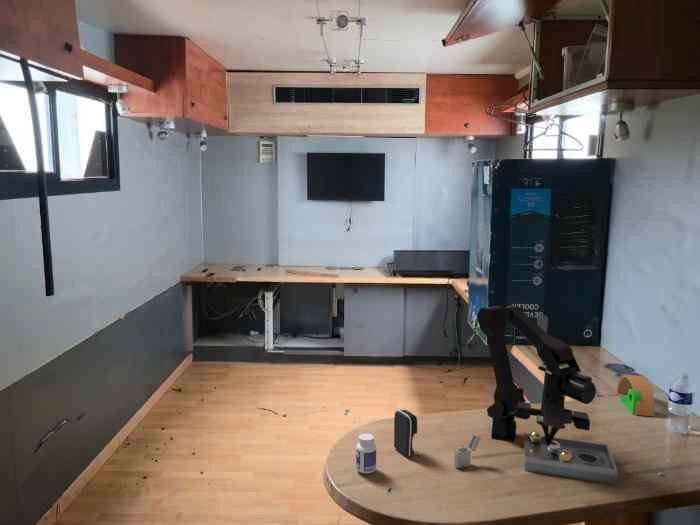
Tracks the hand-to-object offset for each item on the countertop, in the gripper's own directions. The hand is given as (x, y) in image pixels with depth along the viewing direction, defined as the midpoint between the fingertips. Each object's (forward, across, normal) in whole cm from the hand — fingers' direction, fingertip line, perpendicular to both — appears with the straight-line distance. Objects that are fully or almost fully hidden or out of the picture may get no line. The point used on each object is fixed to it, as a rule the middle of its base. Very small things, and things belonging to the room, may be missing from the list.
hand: (547, 445), depth 144 cm
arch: (+2, +30, +51) cm, 59 cm away
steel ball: (0, +2, 0) cm, 2 cm away
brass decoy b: (0, +4, -5) cm, 6 cm away
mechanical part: (+2, +30, +48) cm, 57 cm away
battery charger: (+7, -38, -7) cm, 39 cm away
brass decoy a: (0, -3, +5) cm, 6 cm away
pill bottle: (+7, -45, -20) cm, 50 cm away
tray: (+4, +5, 0) cm, 7 cm away
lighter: (+6, -20, -9) cm, 23 cm away
